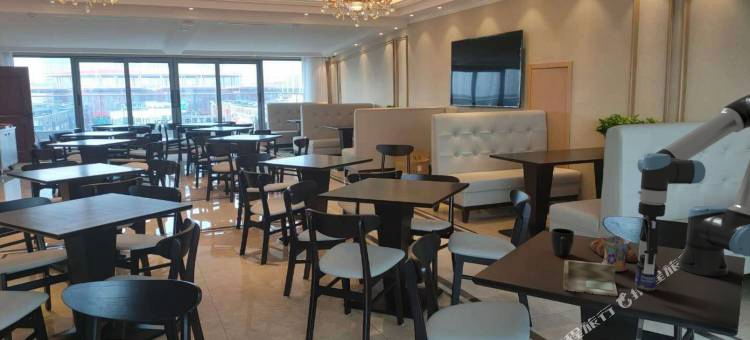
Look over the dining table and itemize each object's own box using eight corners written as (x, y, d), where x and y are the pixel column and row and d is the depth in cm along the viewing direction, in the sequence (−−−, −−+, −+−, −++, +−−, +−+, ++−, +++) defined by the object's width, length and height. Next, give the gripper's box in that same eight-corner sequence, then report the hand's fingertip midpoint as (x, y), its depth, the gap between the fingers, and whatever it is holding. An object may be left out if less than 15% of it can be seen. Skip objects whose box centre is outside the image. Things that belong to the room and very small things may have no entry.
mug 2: (629, 274, 187) (631, 245, 185) (600, 271, 190) (602, 242, 188) (626, 264, 198) (628, 236, 196) (599, 261, 201) (600, 234, 199)
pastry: (587, 258, 205) (589, 238, 204) (588, 247, 219) (590, 228, 218) (636, 264, 199) (638, 243, 197) (634, 252, 212) (636, 233, 211)
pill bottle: (639, 292, 171) (642, 259, 169) (631, 285, 177) (633, 253, 175) (659, 292, 170) (662, 259, 169) (650, 285, 176) (653, 253, 175)
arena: (613, 281, 180) (615, 264, 179) (617, 296, 167) (618, 278, 166) (563, 275, 185) (564, 259, 184) (563, 290, 172) (564, 272, 171)
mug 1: (549, 259, 203) (550, 235, 202) (550, 250, 214) (552, 227, 213) (572, 261, 200) (573, 237, 199) (572, 252, 211) (574, 229, 210)
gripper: (634, 194, 182) (628, 254, 185) (644, 209, 159) (637, 277, 162) (659, 196, 179) (652, 257, 183) (672, 211, 156) (665, 281, 159)
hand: (645, 267), depth 172 cm, fingers open, 13 cm apart
